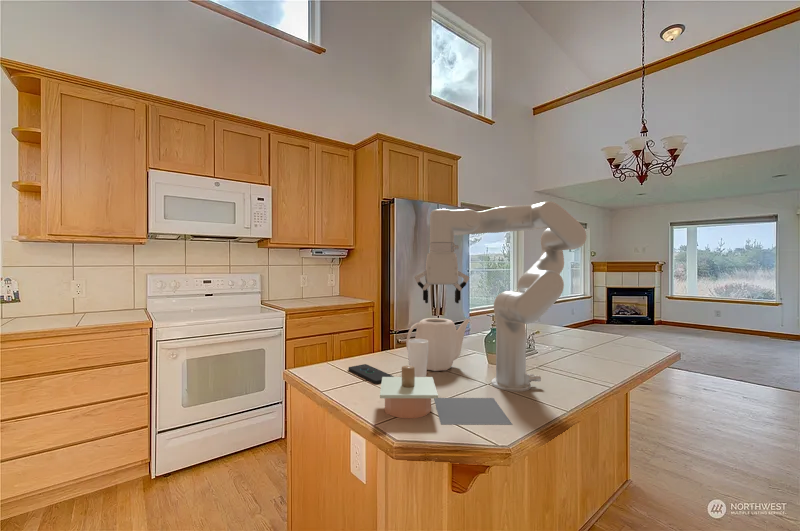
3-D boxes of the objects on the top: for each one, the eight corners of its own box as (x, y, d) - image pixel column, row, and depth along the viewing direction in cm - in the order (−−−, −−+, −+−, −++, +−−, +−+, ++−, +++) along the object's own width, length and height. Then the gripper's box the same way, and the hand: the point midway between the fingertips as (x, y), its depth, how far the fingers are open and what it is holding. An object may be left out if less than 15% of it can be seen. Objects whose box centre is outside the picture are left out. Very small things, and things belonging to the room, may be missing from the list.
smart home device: (366, 363, 142) (395, 376, 125) (366, 367, 142) (395, 381, 126) (347, 366, 137) (375, 380, 121) (347, 371, 137) (375, 385, 121)
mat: (493, 399, 108) (493, 397, 108) (512, 426, 90) (512, 424, 90) (433, 399, 108) (433, 397, 108) (440, 426, 90) (440, 424, 90)
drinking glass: (426, 389, 116) (427, 343, 116) (406, 388, 117) (406, 342, 117) (429, 383, 122) (429, 339, 122) (409, 381, 124) (410, 338, 124)
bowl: (428, 401, 106) (428, 380, 106) (432, 419, 93) (432, 396, 93) (385, 401, 106) (385, 380, 106) (384, 419, 93) (384, 396, 93)
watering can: (479, 370, 137) (479, 321, 137) (412, 375, 130) (412, 323, 130) (462, 360, 152) (462, 315, 152) (401, 364, 145) (401, 317, 145)
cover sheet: (432, 379, 107) (432, 360, 107) (438, 398, 92) (438, 375, 92) (382, 379, 107) (382, 360, 107) (379, 398, 92) (379, 375, 92)
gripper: (466, 249, 117) (466, 301, 117) (414, 249, 117) (413, 301, 117) (471, 248, 110) (471, 304, 110) (415, 248, 110) (414, 304, 110)
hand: (441, 302), depth 114 cm, fingers open, 9 cm apart
